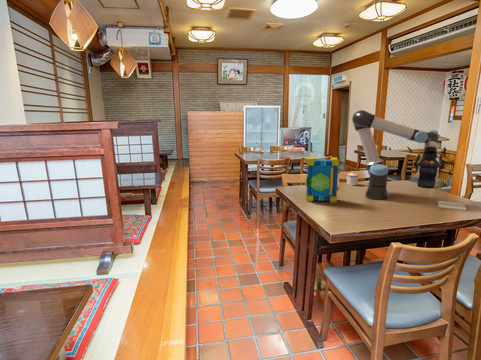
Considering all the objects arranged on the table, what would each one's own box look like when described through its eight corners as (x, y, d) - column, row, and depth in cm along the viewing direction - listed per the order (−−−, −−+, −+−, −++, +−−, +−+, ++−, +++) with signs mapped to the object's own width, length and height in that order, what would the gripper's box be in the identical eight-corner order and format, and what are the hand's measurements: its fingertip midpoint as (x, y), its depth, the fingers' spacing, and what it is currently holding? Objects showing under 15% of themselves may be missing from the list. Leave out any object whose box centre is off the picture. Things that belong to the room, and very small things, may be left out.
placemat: (438, 207, 178) (438, 206, 178) (437, 202, 190) (437, 200, 190) (466, 211, 171) (466, 209, 171) (463, 205, 182) (464, 203, 182)
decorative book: (304, 197, 207) (305, 156, 201) (337, 198, 202) (339, 157, 196) (304, 202, 193) (306, 159, 187) (339, 204, 189) (342, 160, 183)
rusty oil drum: (438, 188, 181) (441, 165, 178) (422, 188, 181) (426, 165, 178) (428, 185, 191) (431, 163, 188) (413, 185, 191) (416, 163, 188)
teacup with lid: (360, 185, 242) (361, 172, 240) (352, 186, 239) (353, 173, 236) (349, 182, 253) (350, 170, 251) (341, 183, 250) (342, 170, 247)
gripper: (449, 154, 188) (447, 181, 179) (411, 152, 200) (407, 177, 191) (451, 146, 183) (449, 174, 173) (411, 145, 195) (407, 170, 185)
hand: (427, 175), depth 182 cm, fingers closed on rusty oil drum, 10 cm apart
